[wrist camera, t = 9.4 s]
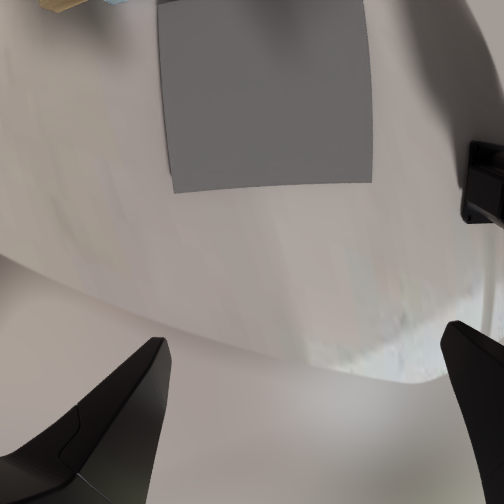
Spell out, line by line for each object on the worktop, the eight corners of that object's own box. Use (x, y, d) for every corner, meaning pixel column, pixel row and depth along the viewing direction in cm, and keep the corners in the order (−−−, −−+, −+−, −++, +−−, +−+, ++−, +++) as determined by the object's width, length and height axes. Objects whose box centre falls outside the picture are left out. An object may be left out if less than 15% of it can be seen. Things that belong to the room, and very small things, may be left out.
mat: (356, 3, 14) (362, -3, 12) (365, 178, 19) (371, 182, 18) (162, 10, 14) (157, 4, 13) (178, 188, 19) (174, 193, 18)
